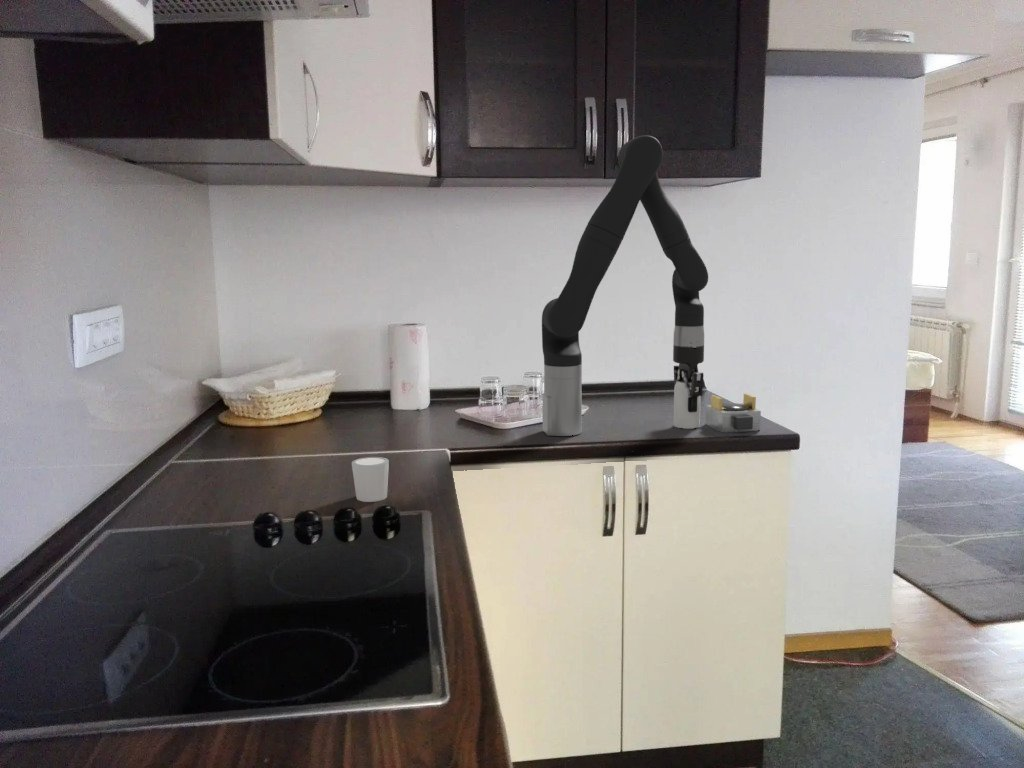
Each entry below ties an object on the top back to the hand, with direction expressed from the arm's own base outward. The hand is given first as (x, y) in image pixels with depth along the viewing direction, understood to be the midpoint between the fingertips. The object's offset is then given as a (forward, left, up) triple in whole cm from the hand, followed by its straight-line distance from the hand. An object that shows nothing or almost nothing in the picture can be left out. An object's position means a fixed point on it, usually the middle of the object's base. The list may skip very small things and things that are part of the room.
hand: (687, 409), depth 203 cm
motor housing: (+11, -3, -5) cm, 12 cm away
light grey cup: (-79, -42, -5) cm, 90 cm away
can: (0, 0, -5) cm, 5 cm away
